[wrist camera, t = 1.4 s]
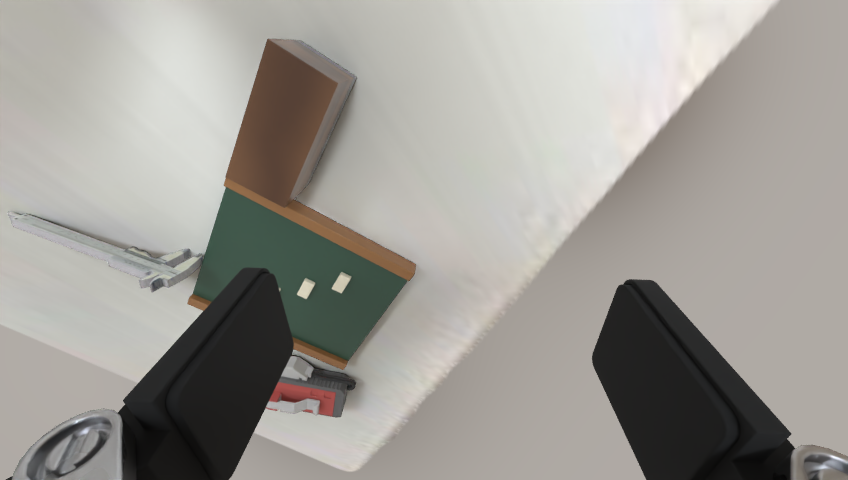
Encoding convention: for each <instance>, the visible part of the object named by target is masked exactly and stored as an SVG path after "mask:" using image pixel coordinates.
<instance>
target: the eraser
mask: <svg viewBox="0 0 848 480" xmlns="http://www.w3.org/2000/svg"><path fill="white" fill-rule="evenodd" d="M355 80H356V76H355V75H353V74H352V73H350V72H349V71H347V70H345V69H344V68H342V67H341V66H339V65H338V64H336V63H335V62H333V61H332V60H330V59H328V58H327V57H325V56H324V55H322V54H321V53H319V52H318V51H316V50H314V49H313V48H311V47H310V46H308V45H307V44H305V43H304V42H302V41H300V40H284V39H267V42H266V46H265V49H264V52H263V55H262V59H261V62H260V65H259V69H258V72H257V75H256V78H255V82H254V85H253V88H252V92H251V95H250V98H249V101H248V105H247V108H246V111H245V115H244V118H243V121H242V124H241V128H240V131H239V134H238V138H237V141H236V144H235V147H234V151H233V154H232V157H231V160H230V164H229V167H228V170H227V174H226V178H228V179H230V180H231V181H233V182H235V183H237V184H239V185H241V186H243V187H245V188H247V189H249V190H251V191H253V192H254V193H256V194H258V195H260V196H262V197H264V198H266V199H268V200H270V201H272V202H274V203H276V204H278V205H279V206H281V207H283V208H286V207H287V206H288V205H289V204H290V203H291V202H292V201H293V200H294V199H295V198H296V196H297V195H298V194H299V193H300V192H301V191H302V190H303V189H304V188H305V187H306V186H307V185H308V184H309V182H310V180H311V178H312V176H313V173H314V171H315V169H316V167H317V165H318V162H319V160H320V158H321V156H322V153H323V151H324V149H325V147H326V145H327V142H328V140H329V138H330V136H331V133H332V131H333V129H334V127H335V125H336V122H337V120H338V118H339V116H340V113H341V111H342V109H343V107H344V105H345V102H346V100H347V98H348V96H349V93H350V91H351V89H352V87H353V85H354V82H355Z"/></svg>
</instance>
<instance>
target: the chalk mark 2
mask: <svg viewBox="0 0 848 480" xmlns="http://www.w3.org/2000/svg"><path fill="white" fill-rule="evenodd" d="M350 279H351V276H349V275H347V274H345V273H343V272H341V273H340V275H339V277H338V278H337V280H336V282H335V283H334V285H333V287H332V289H333V290H335V291H337V292H339V293H342V292H343V290H344V289H345V287H346V286H347V284H348V282H349V281H350Z"/></svg>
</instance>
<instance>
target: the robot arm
mask: <svg viewBox="0 0 848 480" xmlns="http://www.w3.org/2000/svg"><path fill="white" fill-rule="evenodd" d="M293 347H294V342H293V338H292V334H291V331H290V327H289V323H288V320H287V316H286V313H285V309H284V305H283V302H282V298H281V295H280V291H279V287H278V284H277V280H276V277H275V275H274V274H272V273H270V272H269V270H268V269H266V268H249V267H246V268H243V269H242V270H240V271H239V273H238V274H237V275H236V276H235V277H234V278H233V279H232V280H231V281H230V282H229V284H228V285H227V286H226V287H225V288H224V289H223V290H222V291H221V292H220V294H219V295H218V296H217V297H216V298H215V299H214V300H213V301H212V302H211V303H210V305H209V306H208V307H207V308H206V309H205V310H204V311H203V312H202V313H201V315H200V316H199V317H198V318H197V319H196V320H195V321H194V322H193V323H192V324H191V326H190V327H189V328H188V329H187V330H186V331H185V332H184V333H183V334H182V336H181V337H180V338H179V339H178V340H177V341H176V342H175V343H174V344H173V346H172V347H171V348H170V349H169V350H168V351H167V352H166V353H165V354H164V355H163V357H162V358H161V359H160V360H159V361H158V362H157V363H156V364H155V365H154V367H153V368H152V369H151V370H150V371H149V372H148V373H147V374H146V375H145V376H144V378H143V379H142V380H141V381H140V382H139V383H138V384H137V385H136V386H135V388H134V389H133V390H132V391H131V392H130V393H129V394H128V396H126V397H125V399H124V400H123V401H124V403H125V405H124V406H123V407H122V409H121V410H120V411H119V412H118V413H117V412H116V411H114V410H109V409H98V410H92V411H88V412H85V413H82V414H80V415H77V416H75V417H73V418H71V419H69V420H67V421H65V422H63V423H61V424H59V425H58V426H56V427H55V428H54V429H52V430H51V431H49V432H48V433H46V434H45V435H44V436H42V437H41V438H40V439H39V440H38V441H37V442H36V443H35V444H34V445H33V446H31V447H30V448H29V450H28V451H27V452H26V453H25V455H24V456H23V457H22V458H21V460H20V461H19V463H18V465H17V468H16V469H15V471H14V474H13V476H12V477H10V478H8V479H6V480H229V478H230V477H231V476H232V474H233V472H234V471H235V469H236V467H237V465H238V463H239V461H240V459H241V456H242V455H243V452H244V451H245V448H246V447H247V444H248V442H249V440H250V438H251V436H252V434H253V432H254V430H255V428H256V426H257V424H258V422H259V420H260V418H261V416H262V414H263V412H264V410H265V408H266V406H267V404H268V402H269V400H270V398H271V396H272V394H273V392H274V390H275V388H276V386H277V383H278V381H279V379H280V377H281V375H282V373H283V371H284V369H285V367H286V365H287V363H288V361H289V359H290V357H291V355H292V352H293ZM592 361H593V366H594V369H595V371H596V373H597V375H598V377H599V379H600V381H601V383H602V386H603V388H604V390H605V392H606V394H607V396H608V398H609V401H610V403H611V405H612V407H613V409H614V411H615V413H616V416H617V418H618V420H619V422H620V424H621V426H622V429H623V430H624V433H625V435H626V437H627V439H628V441H629V443H630V445H631V448H632V450H633V452H634V454H635V456H636V458H637V461H638V463H639V465H640V467H641V469H642V471H643V473H644V476H645V478H646V480H848V456H845V455H843V454H841V453H838V452H836V451H833V450H831V449H828V448H824V447H820V446H815V445H801V446H800V447H798V448H796V449H795V448H794V446H793V445H792V444H791V443H790V442H789V441H788V440H787V438H788V437H789V436H790V435H791V433H790V432H789V430H788V429H787V428H786V427H785V426H784V425H783V424H782V423H781V421H780V420H779V419H778V418H777V417H776V416H775V415H774V414H773V413H772V412H771V411H770V409H769V408H768V407H767V406H766V405H765V404H764V403H763V401H762V400H761V399H760V398H759V397H758V396H757V395H756V394H755V392H754V391H753V390H752V389H751V388H750V387H749V386H748V385H747V384H746V383H745V381H744V380H743V379H742V378H741V377H740V376H739V375H738V374H737V372H736V371H735V370H734V369H733V368H732V367H731V366H730V365H729V364H728V363H727V361H726V360H725V359H724V358H723V357H722V356H721V355H720V354H719V352H718V351H717V350H716V349H715V348H714V347H713V346H712V345H711V343H710V342H709V341H708V340H707V339H706V338H705V337H704V336H703V335H702V333H701V332H700V331H699V330H698V329H697V328H696V327H695V326H694V325H693V323H692V322H691V321H690V320H689V319H688V318H687V317H686V315H685V314H684V313H683V312H682V311H681V310H680V309H679V308H678V307H677V305H676V304H675V303H674V302H673V301H672V300H671V299H670V298H669V297H668V295H667V294H666V293H665V292H664V291H663V290H662V289H661V288H660V287H659V285H658V284H657V283H655V282H654V281H652V280H632V279H631V280H627V281H626V282H625V283H624V284H623V285H619V286H618V288H617V290H616V293H615V295H614V298H613V301H612V303H611V306H610V309H609V311H608V314H607V317H606V319H605V322H604V325H603V327H602V330H601V333H600V336H599V338H598V341H597V344H596V346H595V349H594V352H593V356H592Z"/></svg>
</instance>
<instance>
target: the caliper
mask: <svg viewBox="0 0 848 480" xmlns="http://www.w3.org/2000/svg"><path fill="white" fill-rule="evenodd" d="M8 216H9V218H10V220H11V223H12V225H13V227H16V228H18V229H21V230H24V231H26V232H29V233H31V234H34V235H37V236H39V237H42V238H45V239H47V240H50V241H53V242H55V243H58V244H61V245H63V246H66V247H69V248H72V249H74V250H77V251H80V252H82V253H85V254H88V255H90V256H93V257H96V258H98V259H101V260H104V261H107V262H108V264H109V266H110V267H112V268H115V269H118V270H120V271H123V272H125V273H128V274H130V275H133V276H135V277H138V278H141V279H140V280H139V283H140V287H141V288H146V287H150V288H151V292H154V291H156V290H157V289H159V288H161V287H163V286H164V287H167V288H169V287H171V286H173V285H175V284H176V283H178V282H180V281H182V280H184V279H185V278H187V277H188V276H189V275H190V274H192V273H193V272H194V271H195V270H196V269H197V268H198V267H199V266H201V265H202V263H203V258H202V254H200V253H199V254H198V255H196V256H194V257H192V258H190V259H188V258H189V257H191V255H190V249H184V250H180V251H177V252H174V253H171V254H167V255H164V256H161V257H158V258H154V257H151V255H150V254H149V253H148V252H146V251H144V250H139V249H138V248H136V247H130V248H127V249H122V248H119V247H117V246H114V245H111V244H108V243H106V242H103V241H100V240H97V239H95V238H92V237H89V236H86V235H84V234H81V233H78V232H76V231H73V230H70V229H67V228H65V227H62V226H59V225H57V224H54V223H51V222H49V221H46V220H43V219H41V218H38V217H35V216H33V215H30V214H23V215H19V214H16V213H14V212H8ZM186 259H188V260H186ZM184 260H186V261H184ZM183 261H184V262H183ZM181 262H183V263H181ZM179 263H181V264H179ZM177 264H179V265H177ZM176 265H177V266H176ZM174 266H175V267H174ZM172 267H173V268H172Z"/></svg>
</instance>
